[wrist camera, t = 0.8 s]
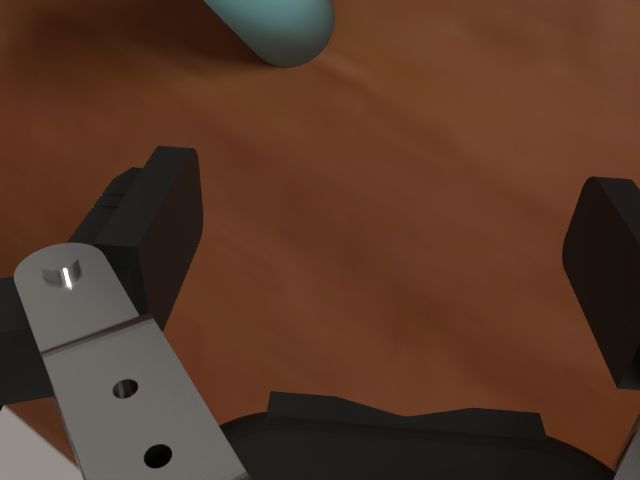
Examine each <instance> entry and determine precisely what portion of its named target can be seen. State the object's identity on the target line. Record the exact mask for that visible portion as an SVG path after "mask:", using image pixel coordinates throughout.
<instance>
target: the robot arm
mask: <svg viewBox="0 0 640 480" xmlns="http://www.w3.org/2000/svg"><path fill="white" fill-rule="evenodd" d="M202 229H203V206H202V195H201V183H200V172H199V161H198V155H197V152H196V150H195V149H194V148H182V147H167V146H158V147H157V148H156V149H155V151H154V152H153V154H152V155H151V157H150V158H149V160H148V161H147V163H146V165H145V166H144V168H134V167H132V168H130V169H129V170H127V171H125V172H124V173H122V174H121V175H119V176H117V177H116V178H114V179H113V180H112V181H111V183H110V184H109V186H108V187H107V188H106V190H105V191H104V192H103V196H101V197H100V198H99V199H98V201H97V202H96V203H95V205H94V208H92V209H91V210H90V212H89V213H88V214H87V216H86V217H85V219H84V220H83V221H82V223H81V224H80V225H79V227H78V228H77V230H76V231H75V232H74V234H73V235H72V236H71V238H70V239H69V241H68V242H67V243H63V244H57V245H53V246H49V247H46V248H43V249H41V250H38V251H36V252H34V253H33V254H31V255H29V256H28V257H27V258H25V259H24V260H23V261H22V262H21V263H20V264H19V265H18V267H17V268H16V270H15V272H14V276H13V277H7V278H1V279H0V411H1V409H2V407H3V405H7V404H13V403H18V402H24V401H29V400H35V399H40V398H45V397H51V396H54V399H55V402H56V405H57V408H58V410H59V413H60V416H61V419H62V422H63V424H64V427H65V430H66V433H67V436H68V438H69V441H70V444H71V447H72V450H73V452H74V455H75V458H76V461H77V464H78V466H79V469H80V472H81V475H82V478H83V480H640V413H639V415H638V417H637V419H636V421H635V423H634V425H633V427H632V429H631V431H630V432H629V434H628V436H627V438H626V440H625V442H624V444H623V446H622V448H621V450H620V452H619V454H618V456H617V458H616V459H615V461H614V463H613V465H612V467H611V469H610V468H609V467H607V466H606V465H605V464H603V463H602V462H600V461H599V460H597V459H596V458H594V457H592V456H591V455H589V454H587V453H586V452H584V451H582V450H580V449H578V448H576V447H574V446H572V445H570V444H567V443H565V442H562V441H560V440H557V439H555V438H552V437H549V436H546V434H545V430H544V427H543V423H542V420H541V417H540V413H531V412H519V411H506V410H494V409H482V408H467V409H460V410H453V411H446V412H439V413H432V414H425V415H417V416H408V417H407V416H400V415H396V414H392V413H389V412H386V411H382V410H379V409H376V408H372V407H369V406H366V405H362V404H359V403H356V402H352V401H349V400H346V399H342V398H339V397H335V396H322V395H310V394H298V393H286V392H273V391H271V392H270V398H269V403H268V409H267V412H261V413H255V414H251V415H247V416H243V417H240V418H237V419H234V420H232V421H229V422H226V423H224V424H222V425H220V426H218V424H217V422H216V421H215V419H214V417H213V416H212V414H211V412H210V411H209V409H208V408H207V406H206V404H205V403H204V401H203V399H202V398H201V396H200V394H199V393H198V391H197V389H196V388H195V386H194V384H193V383H192V381H191V379H190V378H189V376H188V374H187V373H186V371H185V369H184V368H183V366H182V365H181V363H180V361H179V360H178V358H177V356H176V355H175V353H174V351H173V350H172V348H171V346H170V345H169V343H168V341H167V340H166V338H165V336H164V335H163V330H164V328H165V325H166V323H167V320H168V318H169V315H170V313H171V311H172V308H173V306H174V303H175V301H176V298H177V296H178V293H179V291H180V289H181V286H182V284H183V281H184V279H185V276H186V274H187V271H188V269H189V267H190V264H191V262H192V259H193V257H194V254H195V252H196V249H197V247H198V244H199V242H200V239H201V235H202ZM562 259H563V266H564V269H565V272H566V274H567V276H568V278H569V281H570V283H571V285H572V288H573V290H574V292H575V294H576V297H577V299H578V301H579V303H580V306H581V308H582V310H583V312H584V315H585V317H586V319H587V321H588V324H589V326H590V328H591V330H592V333H593V335H594V337H595V339H596V342H597V344H598V346H599V348H600V351H601V353H602V355H603V357H604V360H605V362H606V364H607V366H608V369H609V371H610V373H611V375H612V378H613V380H614V382H615V385H616V387H617V389H630V390H640V190H639V188H638V187H637V186H636V184H635V183H634V182H633V181H632V180H631V179H622V178H607V177H590V178H588V179H587V181H586V182H585V184H584V186H583V188H582V191H581V194H580V196H579V199H578V202H577V205H576V208H575V211H574V214H573V216H572V219H571V222H570V225H569V228H568V231H567V234H566V237H565V240H564V244H563V251H562Z"/></svg>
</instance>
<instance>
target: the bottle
mask: <svg viewBox="0 0 640 480" xmlns="http://www.w3.org/2000/svg"><path fill="white" fill-rule="evenodd" d="M203 1H204V2H205V3H206V4H207V5H208V6H209V7H210V8H211V9H212V10H213V11H214V12H215V13H216V14H217V15H218V16H219V17H220V18H221V19H222V20H223V21H224V22H225V23H226V24H227V25H228V26H229V27H230V28H231V29H232V30H233V31H234V32H235V33H236V34H237V35H238V36H239V37H240V38H241V39H242V40H243V42H244V43H245V44H246V45H247V46H248V47H249V48H250V49H251V50H252V51H253V52H254V53H255V54H256V55H257V56H258V57H259V58H261V59H262V60H263V61H265V62H267V63H269V64H271V65H274V66H278V67H296V66H299V65H302V64H305V63H307V62H309V61H311V60H312V59H314V58H315V57H316V56H317V55H318V54H319V53H321V52H322V50H323V49H324V48H325V47H326V45H327V43H328V42H329V40H330V37H331V35H332V32H333V28H334V21H335V14H334V7H333V3H332V1H331V0H203Z"/></svg>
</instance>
